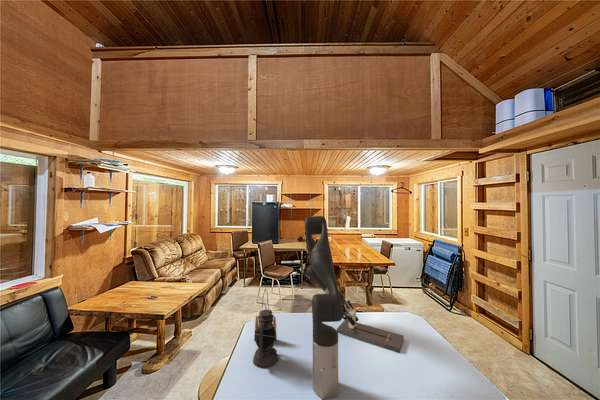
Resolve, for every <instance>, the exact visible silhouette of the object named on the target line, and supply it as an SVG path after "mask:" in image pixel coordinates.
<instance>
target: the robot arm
mask: <svg viewBox="0 0 600 400" xmlns="http://www.w3.org/2000/svg"><path fill="white" fill-rule="evenodd" d="M304 232H305V233H304V234H305V238H306V239H305V240H306V243H307V244H306V245H307V249H308V250H307V251H308V261H309V264H310V265H309V266H307V268H306V269H305V270H306V272H305V273H306V274H307V276H308V277H309V278H310V279H311V280H312V281H313V282H315V283H316V284H317V285H318V286H319V287H320V288H321V289H322V291H323V293H317V294H314V295H313V296H312V300H311V314H312V315H311V316H312V318H311V319H312V390H313V391H314V393H315V394H316V395H317V396H319V398H320V400H325V399H329V398H330V399H331V398H336V397H339V334H338V332H337V328H334V327H333V326H331V325H328V324H326V323H335V322H340V321H342V320H343V321H344V320H348V321H349V322H350V323H351V325H352V326H354V325H355V324H356V323H355V321H354V320H353V319H352V317H351V316H350V314H349V311H350V310H351V309H354V310H355V307H354V306H353V305H352V303H351V301H350V300H346V299H345V298H346V297H345V296H346V295H344V294H343V293H342V291H341V290H340V288H339V286H338V282H337V279H336V273H335V267H334V261H333V254H332V251H331V245H330V241H329V235H328V234H329V232H328V223H327V219H326V217H325V216H323V215H316V216H315V215H314V216H307V217H305V219H304ZM314 235H315V236H316V235H320V236H319V239H318V241H316V240H315V239H314V238H313V236H314ZM359 320H360V319H359V318H358V316H357V315H356V322H357V323H358V321H359Z"/></svg>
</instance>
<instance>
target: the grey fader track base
mask: <svg viewBox="0 0 600 400" xmlns="http://www.w3.org/2000/svg"><path fill="white" fill-rule="evenodd" d="M336 331H337V332H338V333H340V334H339V335H341V334H343V335H342V336H345V335H346V336H345V337H348V336H349V337H348V338H351V337H352V339H354V338H355V339H354V340H357V339H358V340H357V341H361V342H363V343H366V344H369V345H372V346H373V345H374V346H376V347H378V348H382V349H386V350H388V351H391V352H394V353H398V354H400V353H401V349H402V346H403V343H404V339H405V338H404V335H402V334H399V333H395V332H392V331H389V330H386V329H381V328H377V327H374V326H370V325H367V324H363V323H360V322H358V321H357V322H356V326H355V327H354V329H352V328H349V321H348V320H347V319H346V320H344V319H343V321H342V322H341V323H340V325H338V327H337V328H336Z"/></svg>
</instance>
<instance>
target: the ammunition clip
mask: <svg viewBox="0 0 600 400" xmlns="http://www.w3.org/2000/svg"><path fill="white" fill-rule="evenodd" d="M273 316H274V318H273V327H274V328H275V332H276V333H277V320H276V316H275V315H273ZM258 325H259V323H258V315H255V321H254V342H255V338H256V335H255V334H256V332H257V329H258ZM277 339H278V338H277V334H276V340H275V343H276V342H277Z"/></svg>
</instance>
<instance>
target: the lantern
mask: <svg viewBox="0 0 600 400" xmlns="http://www.w3.org/2000/svg"><path fill="white" fill-rule="evenodd" d="M265 293H266V301H267V305H266V304H265V309H263V307H264V300H261V301H262V303H261V310H260V311H259V313H258V314H259V315H257V317H258V329H257V332H256V334H255V333H254V336H255V335H256V338H255V341H254V342H255V344H256V346H257V349H256V350H255V352H254V355H253V358H252V364H253V365H254V366H255V367H256V368H259V369H269V368H271V367H273V366H275V365H276V364H277V363H278V361H279V356H278V353H277V352H278V350H277V349H276V348H275V347H274V346H275V345H274V344H275V343H276V342H275V340H276V335H277V331H276V332H275V328H274V327H273V319H274V316H275V315H274V314H273V311H272V310H271V309H270V305H269V294H268V293H269V292H268V290H267V289H266V288H264V290H263V295H262V298H264V296H265ZM267 308H268V309H267ZM276 341H277V340H276Z"/></svg>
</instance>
